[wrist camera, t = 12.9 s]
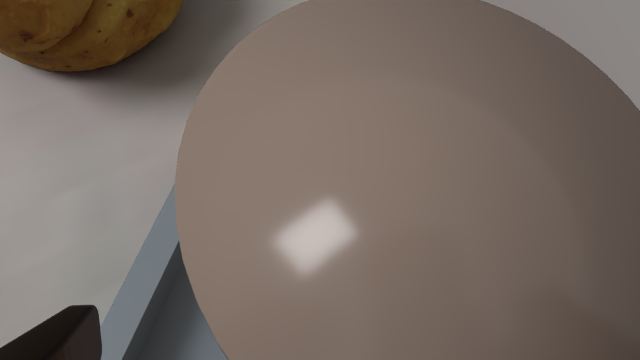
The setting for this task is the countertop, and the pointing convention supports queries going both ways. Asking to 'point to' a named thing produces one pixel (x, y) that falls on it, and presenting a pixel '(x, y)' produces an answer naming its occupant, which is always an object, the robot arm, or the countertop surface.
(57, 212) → the countertop surface
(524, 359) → the jar
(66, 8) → the bread roll
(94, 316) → the robot arm
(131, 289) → the tray
